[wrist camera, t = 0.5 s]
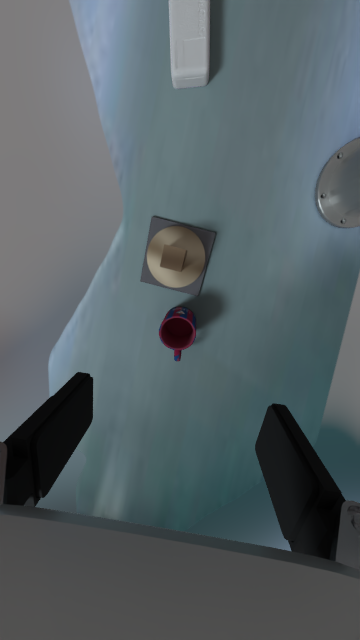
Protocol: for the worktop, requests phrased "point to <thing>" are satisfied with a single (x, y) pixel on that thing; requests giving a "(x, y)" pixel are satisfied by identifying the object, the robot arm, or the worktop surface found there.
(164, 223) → the mat
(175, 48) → the soap
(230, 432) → the worktop surface
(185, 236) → the lid
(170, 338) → the mug
